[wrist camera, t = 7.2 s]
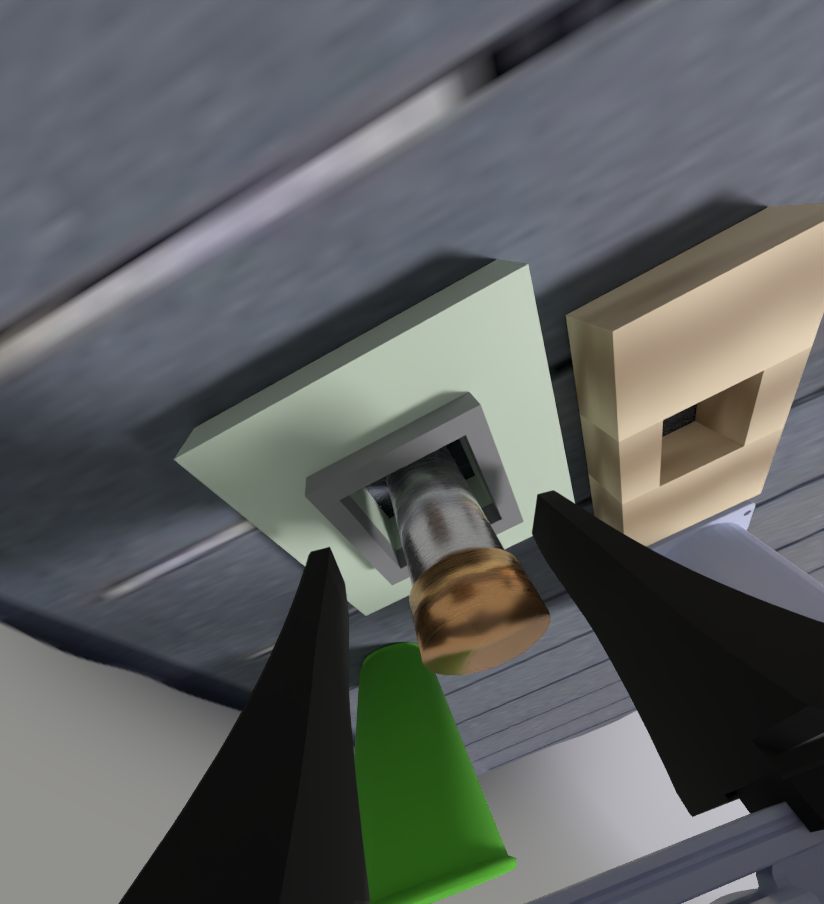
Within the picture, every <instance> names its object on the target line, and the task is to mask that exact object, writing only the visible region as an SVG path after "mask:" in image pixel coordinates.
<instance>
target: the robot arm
mask: <svg viewBox="0 0 824 904" xmlns="http://www.w3.org/2000/svg"><path fill="white" fill-rule="evenodd" d="M754 508H755V503H753V502H752V501H750V500H745V501H743V502H741V503H739V504H737V505H735V506H733V507H730V508H728V509H726V510H724V511H722V512H720V513H717V514H715V515H713V516H711V517H709V518H707V519H705V520H702V521H700V522H698V523H696V524H694V525H692V526H689V527H687V528H685V529H683V530H681V531H679V532H677V533H674V534H672V535H670V536H668V537H666V538H664V539H662V540H659V541H657V542H655V543H653V544H651V545H649V546H647V547H646V546H644V545H642V544H641V543H639V542H637V541H635V540H633V539H632V538H630V537H628V536H627V535H625V534H623V533H621V532H620V531H618V530H616V529H615V528H613V527H611V526H610V525H608V524H606V523H605V522H603V521H602V520H600V519H598V518H597V517H595V516H594V515H592V514H590V513H589V512H587V511H586V510H584V509H583V508H581V507H580V506H578V505H576V504H575V503H573V502H572V501H570V500H569V499H567V498H566V497H564V496H562V495H561V494H559V493H558V492H556V491H554V490H552V491H548V492H544V493H540V494H537V500H536V507H535V514H534V521H533V528H532V535H533V537H534V539H535V541H536V543H537V545H538V547H539V549H540V551H541V552H542V554H543V556H544V558H545V560H546V561H547V563H548V564H549V566H550V567H551V569H552V570H553V572H554V573H555V575H556V576H557V578H558V579H559V581H560V582H561V583H562V585H563V586H564V588H565V589H566V591H567V592H568V593H569V595H570V596H571V598H572V599H573V601H574V602H575V604H576V605H577V606H578V608H579V609H580V611H581V612H582V614H583V615H584V617H585V618H586V620H587V621H588V623H589V624H590V626H591V627H592V629H593V630H594V632H595V634H596V635H597V637H598V639H599V641H600V643H601V644H602V646H603V648H604V650H605V651H606V653H607V655H608V657H609V658H610V660H611V662H612V664H613V666H614V667H615V669H616V671H617V673H618V675H619V677H620V679H621V680H622V682H623V684H624V686H625V688H626V690H627V691H628V693H629V695H630V697H631V699H632V701H633V703H634V705H635V707H636V709H637V711H638V713H639V715H640V717H641V719H642V721H643V723H644V725H645V727H646V729H647V730H648V733H649V734H650V737H651V739H652V741H653V743H654V745H655V747H656V749H657V752H658V754H659V756H660V758H661V760H662V762H663V764H664V766H665V768H666V770H667V772H668V775H669V777H670V779H671V781H672V784H673V786H674V788H675V790H676V793H677V794H678V796H679V797H680V799H681V801H682V802H683V804H684V805H685V807H686V808H687V810H688V812H689V813H690V815H692V817H693V816H696V815H698V814H701V813H703V812H706V811H709V810H711V809H714V808H716V807H719V806H721V805H724V804H726V803H729V802H732V801H734V800H737V799H740V800H741V801H742V803H743V804H744V805H745V807H746V808H747V810H748V811H749V812H750V814H749V815H746V816H744V817H741V818H738V819H736V820H734V821H731V822H729V823H726V824H724V825H721V826H718V827H716V828H713V829H711V830H708V831H706V832H703V833H701V834H698V835H696V836H693V837H691V838H688V839H686V840H683V841H681V842H678V843H676V844H674V845H671V846H668V847H666V848H664V849H661V850H658V851H656V852H653V853H651V854H648V855H646V856H643V857H641V858H638V859H636V860H633V861H631V862H628V863H626V864H623V865H621V866H618V867H616V868H613V869H611V870H608V871H606V872H603V873H601V874H598V875H596V876H593V877H591V878H588V879H586V880H583V881H581V882H578V883H576V884H573V885H571V886H568V887H566V888H563V889H561V890H558V891H556V892H553V893H550V894H548V895H545V896H543V897H540V898H538V899H536V900H533V901H530V902H528V903H525V904H681V903H684V902H686V901H688V900H691V899H693V898H695V897H698V896H700V895H702V894H705V893H707V892H709V891H712V890H714V889H716V888H719V887H721V886H724V885H726V884H729V883H731V882H733V881H735V880H738V879H740V878H743V877H745V876H747V875H750V874H752V873H754V872H756V877H757V880H758V884H759V887H758V889H751V890H745V891H740V892H735V893H731V894H728V895H726V896H723V897H720V898H718V899H716V900H715V901H713V902H712V903H710V904H824V585H823V584H821V583H820V582H818V581H817V580H816V579H814V578H813V577H811V576H810V575H808V574H807V573H806V572H804V571H803V570H801V569H800V568H799V567H797V566H796V565H794V564H793V563H792V562H790V561H789V560H787V559H786V558H785V557H783V556H782V555H780V554H779V553H778V552H776V551H775V550H773V549H772V548H770V547H769V546H768V545H766V544H765V543H763V542H762V541H761V540H759V539H758V538H756V537H755V536H754V535H752V534H751V533H749V532H748V531H747V528H748V525H749V522H750V519H751V516H752V513H753V511H754ZM369 903H370V894H369V886H368V878H367V870H366V862H365V853H364V845H363V837H362V828H361V819H360V810H359V801H358V791H357V782H356V771H355V761H354V752H353V740H352V728H351V717H350V702H349V613H348V603H347V595H346V586H345V582H344V579H343V577H342V574H341V572H340V570H339V567H338V565H337V562H336V560H335V558H334V555H333V553H332V550H331V548H330V547H327V548H323V549H319V550H315V551H311V552H310V554H309V555H308V559H307V562H306V565H305V569H304V572H303V575H302V578H301V581H300V584H299V586H298V589H297V592H296V595H295V598H294V600H293V603H292V605H291V608H290V610H289V613H288V616H287V618H286V621H285V623H284V626H283V628H282V630H281V632H280V635H279V637H278V639H277V641H276V644H275V646H274V648H273V650H272V653H271V655H270V657H269V659H268V661H267V664H266V666H265V668H264V670H263V672H262V674H261V676H260V678H259V680H258V682H257V684H256V686H255V688H254V690H253V691H252V693H251V695H250V697H249V699H248V701H247V703H246V705H245V707H244V708H243V710H242V712H241V714H240V716H239V717H238V719H237V721H236V723H235V724H234V726H233V728H232V730H231V732H230V733H229V735H228V737H227V739H226V740H225V742H224V744H223V745H222V747H221V749H220V751H219V752H218V754H217V756H216V757H215V759H214V760H213V762H212V764H211V765H210V767H209V768H208V770H207V772H206V773H205V775H204V776H203V778H202V780H201V781H200V783H199V784H198V786H197V788H196V789H195V791H194V792H193V794H192V796H191V797H190V799H189V800H188V802H187V804H186V805H185V807H184V808H183V810H182V811H181V813H180V814H179V816H178V817H177V819H176V820H175V822H174V824H173V825H172V827H171V828H170V830H169V831H168V832H167V834H166V835H165V837H164V838H163V840H162V841H161V843H160V844H159V846H158V847H157V848H156V850H155V851H154V853H153V854H152V856H151V857H150V859H149V860H148V862H147V863H146V865H145V866H144V867H143V869H142V870H141V872H140V873H139V875H138V876H137V878H136V879H135V881H134V882H133V884H132V885H131V886H130V888H129V889H128V891H127V892H126V894H125V895H124V897H123V898H122V899H121V901H120V902H119V904H369Z"/></svg>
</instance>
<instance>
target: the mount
mask: <svg viewBox="0 0 824 904" xmlns="http://www.w3.org/2000/svg"><path fill="white" fill-rule="evenodd" d="M823 313H824V203H821V204H803V205H785V206H769V207H768V208H766V209H764V210H762V211H760V212H758V213H756V214H754V215H753V216H751V217H749V218H747V219H745V220H743V221H741V222H739V223H738V224H736V225H734V226H732V227H730V228H728V229H726V230H724V231H723V232H721V233H719V234H717V235H715V236H713V237H711V238H709V239H708V240H706V241H704V242H702V243H700V244H698V245H696V246H694V247H693V248H691V249H689V250H687V251H685V252H683V253H681V254H679V255H678V256H676V257H674V258H672V259H670V260H668V261H666V262H664V263H663V264H661V265H659V266H657V267H655V268H653V269H651V270H649V271H648V272H646V273H644V274H642V275H640V276H638V277H636V278H634V279H632V280H631V281H629V282H627V283H625V284H623V285H621V286H619V287H617V288H616V289H614V290H612V291H610V292H608V293H606V294H604V295H602V296H601V297H599V298H597V299H595V300H593V301H591V302H589V303H587V304H586V305H584V306H582V307H580V308H578V309H576V310H574V311H572V312H571V313H569V314H567V315H566V321H567V328H568V335H569V342H570V349H571V356H572V363H573V370H574V377H575V384H576V391H577V398H578V405H579V412H580V419H581V426H582V433H583V440H584V447H585V454H586V461H587V468H588V475H589V482H590V489H591V496H592V503H593V510H594V516H595V517H597V518H598V519H600V520H602V521H603V522H605V523H606V524H608V525H610V526H611V527H613V528H615V529H616V530H618V531H620V532H621V533H623V534H625V535H627V536H628V537H630V538H632V539H633V540H635V541H637V542H639V543H641V544H642V545H644V546H649V545H651V544H653V543H655V542H657V541H659V540H662V539H664V538H666V537H668V536H670V535H672V534H674V533H677V532H679V531H681V530H683V529H685V528H687V527H689V526H692V525H694V524H696V523H698V522H700V521H702V520H705V519H707V518H709V517H711V516H713V515H715V514H717V513H720V512H722V511H724V510H726V509H728V508H730V507H733V506H735V505H737V504H739V503H741V502H743V501H745V500H748V499H750V498H752V497H754V496H756V495H758V494H761V491H762V489H763V486H764V483H765V480H766V477H767V474H768V471H769V468H770V465H771V463H772V460H773V457H774V454H775V451H776V448H777V445H778V442H779V440H780V437H781V434H782V431H783V428H784V425H785V422H786V419H787V416H788V414H789V411H790V408H791V405H792V402H793V399H794V396H795V393H796V391H797V388H798V385H799V382H800V379H801V376H802V373H803V370H804V367H805V365H806V362H807V359H808V356H809V353H810V350H811V347H812V344H813V342H814V339H815V336H816V333H817V330H818V327H819V324H820V321H821V318H822V316H823ZM695 404H697V410H696V417H695V421H694V422H692V423H690V424H688V425H686V426H684V427H682V428H680V429H678V430H676V431H674V432H671V433H669V434H667V435H665V436H663V437H662V429H663V420H664V419H666V418H669V417H671V416H673V415H675V414H677V413H679V412H681V411H683V410H685V409H687V408H689V407H691V406H693V405H695Z"/></svg>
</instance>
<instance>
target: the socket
mask: <svg viewBox="0 0 824 904" xmlns="http://www.w3.org/2000/svg"><path fill="white" fill-rule="evenodd" d="M457 439H459V440H460V443H461V445H462V447H463V449H464V451H465V454H466V456H467V458H468V460H469V462H470V465H471V467H472V469H473V471H474V473H475V476H473V477H471V478H469V479H467V480H466V482H467V484H468V486H469V488H470V489H471V491H472V493H473V495H474V496H475V498H476V500H477V502H478V503H479V505H480V507H481V509H482V511H483V512H484V514H485V516H486V518H487V519H488V521H489V523H490V525H491V526H492V528H493V530H494V532H495V534H496V535H497V537H498V539H499V541H500V542H501V544H502V546H503V548H504V549H506V548H508V547H510V546H513V545H515V544H517V543H519V542H521V541H523V540H525V539H527V538H529V537H531V536H533V535H532V528H533V521H534V514H535V507H536V500H537V494H540V493H544V492H548V491H552V490H554V491H556V492H558V493H559V494H561V495H562V496H564V497H566V498H567V499H569V500H570V501H572V502H573V503H575V501H574V496H573V491H572V486H571V481H570V475H569V470H568V465H567V460H566V455H565V450H564V445H563V440H562V435H561V429H560V424H559V419H558V414H557V409H556V404H555V399H554V394H553V389H552V383H551V378H550V373H549V368H548V363H547V358H546V353H545V348H544V343H543V338H542V332H541V327H540V322H539V317H538V312H537V307H536V302H535V297H534V292H533V286H532V281H531V276H530V271H529V266H528V264H525V263H519V262H513V261H506V260H500V259H497V260H495V261H493V262H491V263H490V264H488V265H486V266H484V267H482V268H481V269H479V270H477V271H475V272H473V273H472V274H470V275H468V276H466V277H464V278H463V279H461V280H459V281H457V282H455V283H454V284H452V285H450V286H448V287H447V288H445V289H443V290H441V291H439V292H438V293H436V294H434V295H432V296H430V297H429V298H427V299H425V300H423V301H421V302H420V303H418V304H416V305H414V306H412V307H411V308H409V309H407V310H405V311H403V312H402V313H400V314H398V315H396V316H394V317H393V318H391V319H389V320H387V321H385V322H384V323H382V324H380V325H378V326H376V327H375V328H373V329H371V330H369V331H368V332H366V333H364V334H362V335H360V336H359V337H357V338H355V339H353V340H351V341H350V342H348V343H346V344H344V345H342V346H341V347H339V348H337V349H335V350H333V351H332V352H330V353H328V354H326V355H324V356H323V357H321V358H319V359H317V360H315V361H314V362H312V363H310V364H308V365H306V366H305V367H303V368H301V369H299V370H297V371H296V372H294V373H292V374H290V375H289V376H287V377H285V378H283V379H281V380H280V381H278V382H276V383H274V384H272V385H271V386H269V387H267V388H265V389H263V390H262V391H260V392H258V393H256V394H254V395H253V396H251V397H249V398H247V399H245V400H244V401H242V402H240V403H238V404H236V405H235V406H233V407H231V408H229V409H227V410H226V411H224V412H222V413H220V414H218V415H217V416H215V417H213V418H211V419H209V420H208V421H206V422H204V423H202V424H201V425H199V426H197V427H195V428H194V429H193V431H192V432H191V434H190V435H189V437H188V438H187V440H186V441H185V443H184V444H183V446H182V447H181V449H180V451H179V452H178V454H177V455H176V457H175V458H174V460H175V461H176V462H177V463H178V464H180V465H181V466H182V467H183V468H185V469H186V470H187V471H188V472H190V473H191V474H192V475H193V476H194V477H196V478H197V479H198V480H199V481H201V482H202V483H203V484H204V485H206V486H207V487H208V488H209V489H210V490H212V491H213V492H214V493H215V494H217V495H218V496H219V497H220V498H222V499H223V500H224V501H225V502H226V503H228V504H229V505H230V506H231V507H233V508H234V509H235V510H236V511H238V512H239V513H240V514H241V515H242V516H244V517H245V518H246V519H247V520H249V521H250V522H251V523H252V524H253V525H255V526H256V527H257V528H258V529H260V530H261V531H262V532H263V533H265V534H266V535H267V536H268V537H269V538H271V539H272V540H273V541H274V542H276V543H277V544H278V545H279V546H281V547H282V548H283V549H284V550H285V551H287V552H288V553H289V554H290V555H292V556H293V557H294V558H295V559H297V560H298V561H299V562H300V563H301V564H303V565H304V566H305V565H306V562H307V559H308V555H309V554H310V552H311V551H315V550H319V549H323V548H327V547H330V548H331V550H332V553H333V555H334V558H335V560H336V562H337V565H338V567H339V570H340V572H341V574H342V577H343V579H344V582H345V586H346V595H347V601H348V602H349V603H351V604H352V605H353V606H354V607H356V608H357V609H358V610H359V611H360V612H362V613H363V614H364V615H365V616H367V615H369V614H371V613H373V612H375V611H377V610H379V609H382V608H384V607H386V606H388V605H390V604H392V603H394V602H396V601H398V600H400V599H402V598H404V597H407V596H409V595H410V592H411V589H412V583H411V579H410V575H409V571H408V567H407V563H406V559H405V555H404V550H403V546H402V542H401V538H400V534H399V530H398V526H397V522H396V518H395V516H394V517H392V518H390V519H389V518H388V517H387V515H386V514H385V513H384V511H383V510H382V509H381V508H380V506H379V505H378V504H377V503H376V501H375V500H374V499H373V497H372V496H371V495H370V494H369V492H368V491H367V490H366V489H365V487H366V486H368V485H370V484H372V483H374V482H376V481H378V480H379V479H381V478H383V477H385V476H387V475H389V474H391V473H393V472H395V471H397V470H399V469H401V468H403V467H405V466H407V465H409V464H410V463H412V462H414V461H416V460H418V459H420V458H422V457H424V456H426V455H428V454H430V453H432V452H434V451H436V450H438V449H440V448H442V447H443V446H445V445H447V444H449V443H451V442H453V441H455V440H457Z"/></svg>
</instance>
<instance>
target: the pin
mask: <svg viewBox="0 0 824 904" xmlns="http://www.w3.org/2000/svg"><path fill="white" fill-rule="evenodd" d="M385 477H386V481H387V485H388V489H389V493H390V497H391V502H392V506H393V510H394V514H395V518H396V522H397V526H398V530H399V534H400V538H401V542H402V546H403V550H404V555H405V559H406V563H407V567H408V571H409V575H410V579H411V583H412V589H411V592H410V595H409V604H410V609H411V613H412V618H413V622H414V626H415V631H416V635H417V640H418V644H419V649H420V653H421V657H422V662H423V664H424V666H425V667H426V668H427V669H428V670H430V671H432V672H434V673H437V674H442V675H464V674H470V673H475V672H479V671H483V670H486V669H490V668H492V667H495V666H498V665H500V664H502V663H505V662H507V661H509V660H511V659H513V658H515V657H516V656H518V655H520V654H521V653H523V652H524V651H526V650H527V649H529V648H530V647H531V646H532V645H534V644H535V643H536V642H537V641H538V640H539V639H540V638H541V637H542V636H543V634H544V633H545V631H546V630H547V628H548V626H549V623H550V613H549V611H548V609H547V608H546V606H545V604H544V603H543V601H542V599H541V597H540V596H539V594H538V592H537V591H536V589H535V587H534V586H533V584H532V582H531V580H530V579H529V577H528V575H527V574H526V572H525V570H524V569H523V567H522V565H521V563H520V562H519V560H518V559H517V558H516V557H515V556H514V555H513V554H511V553H510V552H507V551H505V550H504V548H503V546H502V544H501V542H500V541H499V539H498V537H497V535H496V534H495V532H494V530H493V528H492V526H491V525H490V523H489V521H488V519H487V518H486V516H485V514H484V512H483V511H482V509H481V507H480V505H479V503H478V502H477V500H476V498H475V496H474V495H473V493H472V491H471V489H470V488H469V486H468V484H467V482H466V480H465V479H464V477H463V475H462V473H461V472H460V470H459V468H458V466H457V464H456V463H455V461H454V459H453V457H452V456H451V454H450V452H449V450H448V449H447V447H446V445H445V446H443V447H442V448H440V449H438V450H436V451H434V452H432V453H430V454H428V455H426V456H424V457H422V458H420V459H418V460H416V461H414V462H412V463H410V464H409V465H407V466H405V467H403V468H401V469H399V470H397V471H395V472H393V473H391V474H389V475H387V476H385Z"/></svg>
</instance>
